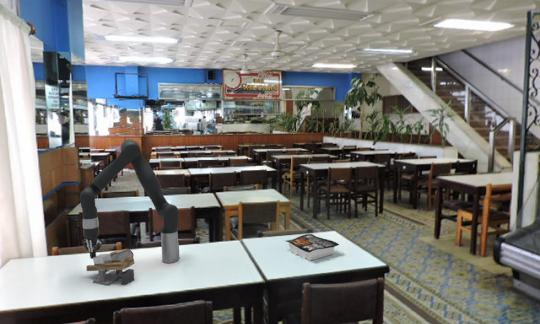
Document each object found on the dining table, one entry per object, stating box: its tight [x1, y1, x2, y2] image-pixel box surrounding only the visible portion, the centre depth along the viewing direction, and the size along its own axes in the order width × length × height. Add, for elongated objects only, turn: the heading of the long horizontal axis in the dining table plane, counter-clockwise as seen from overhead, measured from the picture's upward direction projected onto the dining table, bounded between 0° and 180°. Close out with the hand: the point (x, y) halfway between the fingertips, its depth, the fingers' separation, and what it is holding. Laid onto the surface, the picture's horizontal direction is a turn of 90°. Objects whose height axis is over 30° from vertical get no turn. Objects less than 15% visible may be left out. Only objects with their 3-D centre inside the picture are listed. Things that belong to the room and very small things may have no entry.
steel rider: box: [92, 253, 112, 265], centre depth 197 cm, size 5×7×5 cm
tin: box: [109, 248, 135, 260], centre depth 214 cm, size 15×3×8 cm, turn 135°
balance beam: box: [86, 254, 135, 273], centre depth 195 cm, size 8×25×6 cm, turn 67°
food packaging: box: [285, 233, 340, 262], centre depth 229 cm, size 25×8×23 cm
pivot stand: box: [92, 268, 135, 287], centre depth 194 cm, size 14×18×7 cm
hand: (93, 258), depth 200 cm, fingers closed
